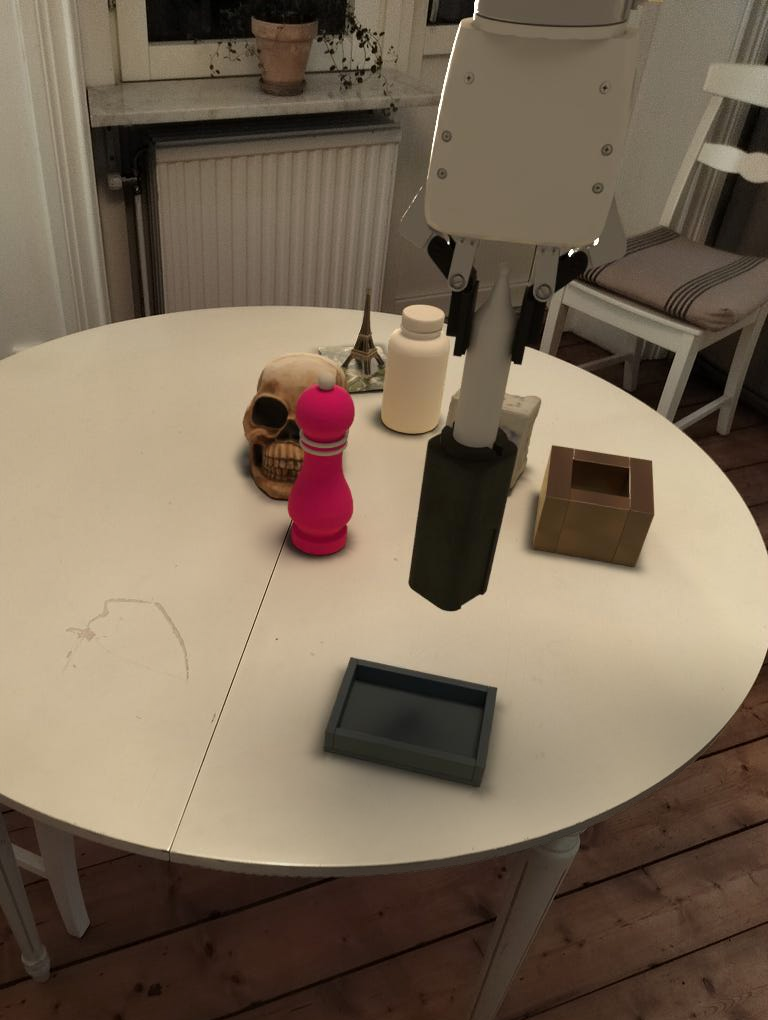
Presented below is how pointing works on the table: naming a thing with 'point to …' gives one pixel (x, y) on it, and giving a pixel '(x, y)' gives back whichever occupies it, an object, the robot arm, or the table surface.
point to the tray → (412, 721)
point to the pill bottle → (415, 371)
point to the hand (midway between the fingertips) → (489, 349)
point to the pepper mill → (322, 469)
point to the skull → (282, 418)
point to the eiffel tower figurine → (360, 357)
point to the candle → (469, 467)
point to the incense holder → (511, 424)
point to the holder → (594, 505)
